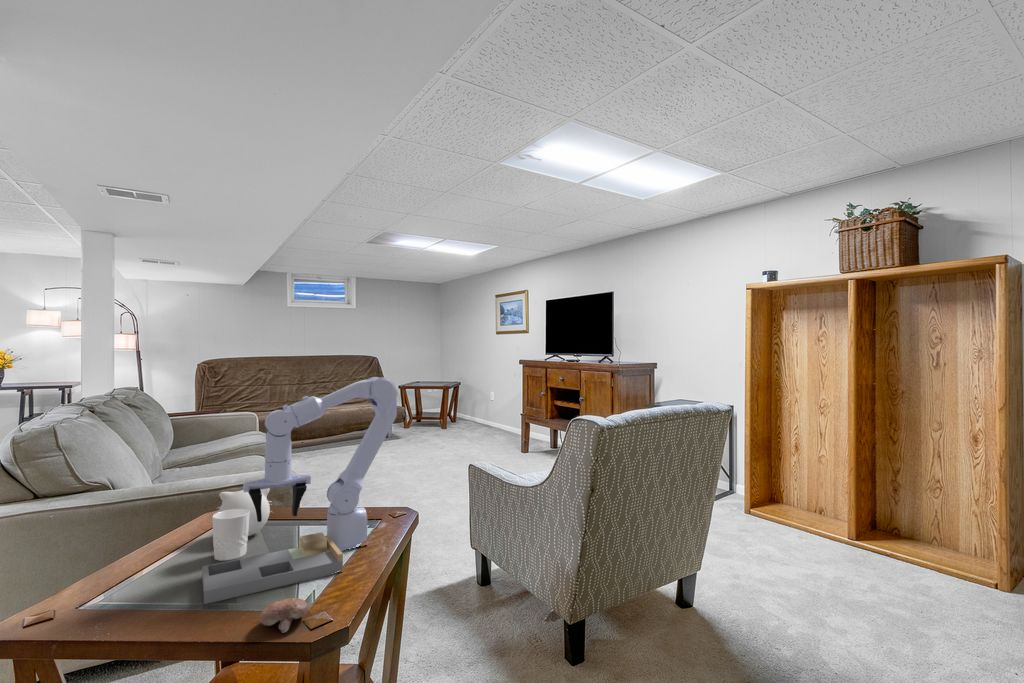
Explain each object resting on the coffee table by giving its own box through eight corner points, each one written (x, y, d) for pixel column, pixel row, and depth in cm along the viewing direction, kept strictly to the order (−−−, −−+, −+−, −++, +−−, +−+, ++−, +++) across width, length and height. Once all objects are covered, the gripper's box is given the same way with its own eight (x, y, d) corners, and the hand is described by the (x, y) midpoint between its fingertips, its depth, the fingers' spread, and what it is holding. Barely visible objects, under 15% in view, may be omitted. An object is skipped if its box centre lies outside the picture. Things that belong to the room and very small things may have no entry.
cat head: (208, 549, 121) (210, 500, 122) (213, 533, 133) (214, 488, 133) (275, 539, 128) (276, 492, 129) (274, 525, 140) (275, 482, 140)
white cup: (232, 563, 113) (233, 519, 113) (203, 560, 115) (204, 517, 115) (256, 550, 121) (257, 509, 121) (228, 548, 122) (229, 508, 123)
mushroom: (312, 630, 84) (315, 598, 92) (294, 606, 82) (298, 575, 90) (270, 656, 83) (276, 621, 90) (250, 632, 81) (258, 598, 88)
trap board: (327, 551, 120) (327, 535, 120) (342, 572, 108) (342, 553, 108) (202, 578, 105) (202, 559, 105) (204, 604, 94) (204, 583, 94)
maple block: (321, 544, 118) (321, 532, 118) (326, 551, 113) (326, 538, 113) (299, 549, 115) (299, 536, 115) (303, 556, 111) (304, 542, 111)
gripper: (306, 454, 124) (306, 508, 124) (242, 461, 116) (241, 518, 116) (312, 459, 119) (312, 515, 118) (245, 466, 110) (244, 527, 110)
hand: (277, 517), depth 116 cm, fingers open, 7 cm apart
